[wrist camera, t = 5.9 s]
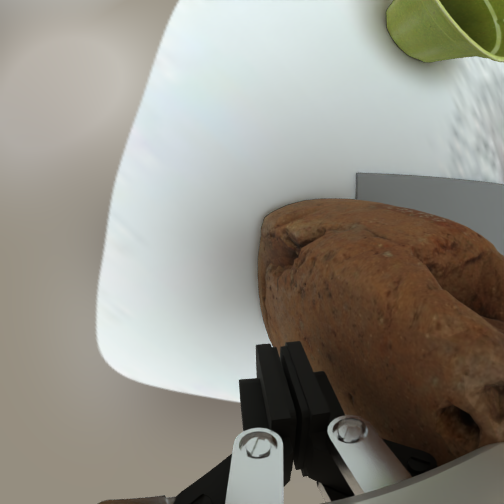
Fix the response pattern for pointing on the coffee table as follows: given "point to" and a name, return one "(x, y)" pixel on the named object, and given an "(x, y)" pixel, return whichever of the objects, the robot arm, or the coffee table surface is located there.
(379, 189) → the mat
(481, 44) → the plant pot
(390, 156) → the coffee table surface
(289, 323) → the block
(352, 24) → the coffee table surface
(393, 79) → the coffee table surface
